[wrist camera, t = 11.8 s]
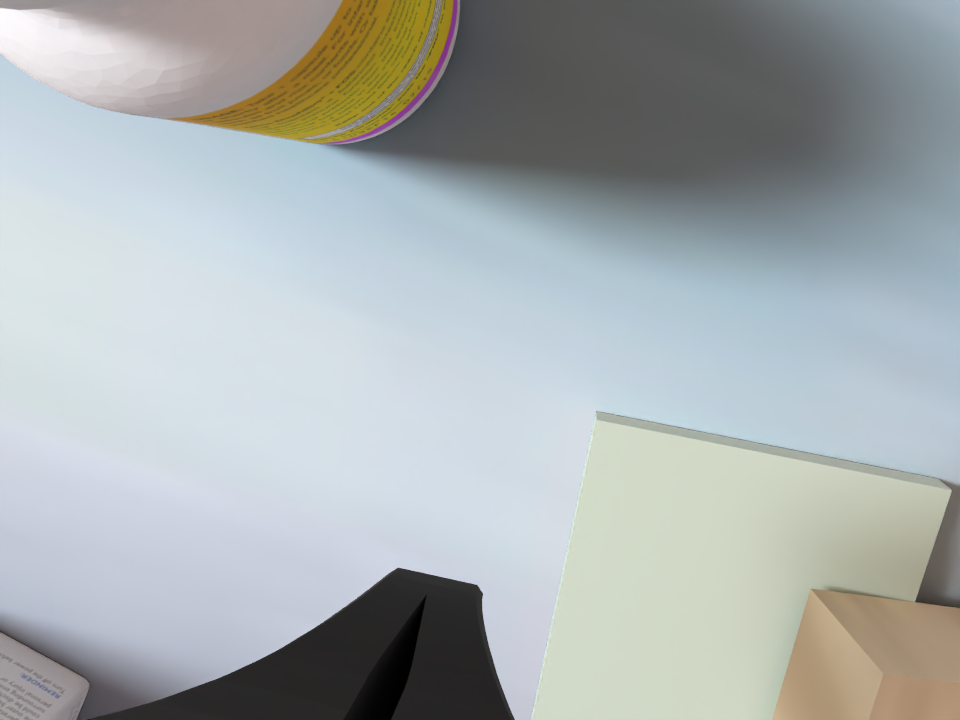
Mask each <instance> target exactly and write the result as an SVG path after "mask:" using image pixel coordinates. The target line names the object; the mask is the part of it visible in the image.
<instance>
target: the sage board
mask: <svg viewBox="0 0 960 720" xmlns="http://www.w3.org/2000/svg"><path fill="white" fill-rule="evenodd" d="M951 492H952V490H951V489H950V488H949V487H948V486H946V485H945V484H944V483H943V482H942V481H940V480H939V479H937V478H932V477H927V476H922V475H917V474H912V473H906V472H901V471H896V470H891V469H886V468H881V467H876V466H871V465H866V464H861V463H856V462H851V461H846V460H841V459H836V458H830V457H825V456H820V455H815V454H810V453H805V452H800V451H795V450H790V449H785V448H780V447H775V446H770V445H765V444H760V443H754V442H749V441H744V440H739V439H734V438H729V437H724V436H719V435H714V434H709V433H704V432H699V431H694V430H689V429H684V428H678V427H673V426H668V425H663V424H658V423H653V422H648V421H643V420H638V419H633V418H628V417H623V416H618V415H613V414H607V413H602V412H597V411H596V414H595V419H594V424H593V428H592V433H591V438H590V443H589V447H588V452H587V457H586V461H585V466H584V471H583V476H582V480H581V485H580V490H579V494H578V499H577V504H576V509H575V513H574V518H573V523H572V528H571V532H570V537H569V542H568V546H567V551H566V556H565V561H564V565H563V570H562V575H561V579H560V584H559V589H558V594H557V598H556V603H555V608H554V612H553V617H552V622H551V627H550V631H549V636H548V641H547V645H546V650H545V655H544V660H543V664H542V669H541V674H540V679H539V683H538V688H537V693H536V697H535V702H534V707H533V712H532V716H531V720H772V718H773V714H774V711H775V708H776V704H777V701H778V697H779V694H780V691H781V687H782V684H783V680H784V677H785V674H786V670H787V667H788V663H789V660H790V657H791V653H792V650H793V646H794V643H795V639H796V636H797V633H798V629H799V626H800V622H801V619H802V616H803V612H804V609H805V605H806V602H807V599H808V595H809V592H810V588H811V589H818V590H826V591H833V592H841V593H849V594H856V595H864V596H871V597H879V598H887V599H894V600H902V601H910V602H915V600H916V597H917V594H918V591H919V588H920V585H921V582H922V579H923V576H924V573H925V570H926V567H927V564H928V561H929V558H930V555H931V552H932V549H933V546H934V543H935V540H936V537H937V534H938V531H939V528H940V525H941V522H942V519H943V516H944V513H945V510H946V507H947V504H948V501H949V498H950V495H951Z"/></svg>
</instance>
